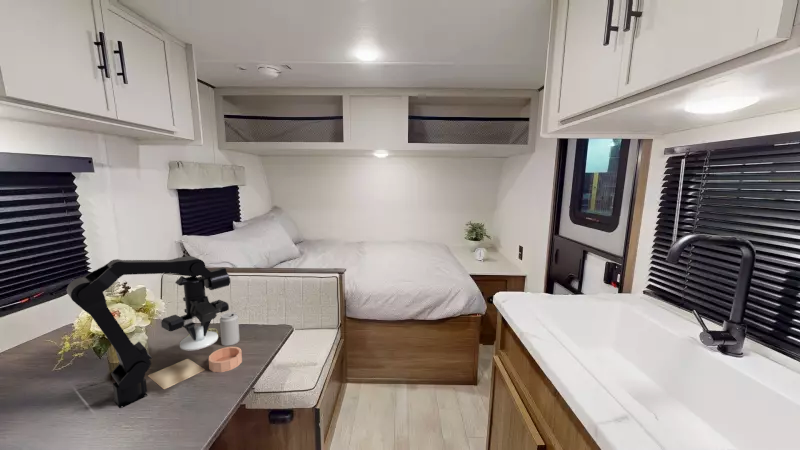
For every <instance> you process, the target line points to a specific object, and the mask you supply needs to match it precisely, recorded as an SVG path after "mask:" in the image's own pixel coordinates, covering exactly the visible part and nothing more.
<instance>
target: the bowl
mask: <svg viewBox="0 0 800 450" xmlns="http://www.w3.org/2000/svg"><path fill="white" fill-rule="evenodd" d="M242 352H243V351H242V349H241V348H240V347H238V346H225V347H222V348H219V349H217V350H214V351H213V352H212V353H211V354H210V355H209V356H208V369H209V371H211V372H213V373H224V372H228V371H232V370H234V369H235V368H238V367H239V366H240V364H242V363H243V356H242Z"/></svg>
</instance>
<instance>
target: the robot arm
mask: <svg viewBox="0 0 800 450" xmlns="http://www.w3.org/2000/svg"><path fill="white" fill-rule="evenodd" d="M157 274H158V275H159V274H160V275H162V274H173V275H174V274H175V275H180V277H179V278H178V279H177V280H176V281H175V284H176V285H178V286H179V287H180V286H183V292H184V297H182V298H183V299H182V300H183V301H184V303H185V308H184V309H183V311H184V313H186V314H184V315H181V316H179V315H177V314H172V315H170V316H167V317H164V318H162V320H161V321H160V326H161V329H164V330H167V331H168V332H173V331H176V330H179V329H181V328H185V330H186V331H187V332H188V335H189V334H190V336H191V337H192V339H193V340H196V334H195V328H194V327H195V326H196V323H195V322H194V321H193V319H198V320H199V322H200V325H202V326H203V331H204V336H206V333H207V330H208V328H210V327H209V326H210V324H211V321H212V320H214V319H216V318H217V314H219V313H221V314H222V313H224V312H225V313H226V312H227V311H229V310H230V306H229V303H228V302H227V301H225V300H221V299H217V300H214V301H212V302H210V300H209V297H208V295H206V289H208V290H210V291H214V290H217V289H222V288H225V287H228V286H229V285H230V284H231V278H230V276H229V273H228V272H227V268H225V267H223V266H221V267H219V268H216V269H211V270H209V269H208V268H207V267H206V263H205V262H204V261H203V260H202V259H201V258H200V259H199V257H196V256H193V255H187V256H186V255H185V256H180V257H176V258H175V257H174V258H172V259H119V258H117V259H112V260H110V261H109V262H108V263H106V264H104V265H102V266H100V267H98V268H97V269H94V271H91V272H90V273H87V274H86V275H85V276H84V277H80V278H76V279H73V280H72V281H71V282H70V283H69V284H68V285H67V287H66V293H67V295H68V296H69V297H70V299H71V300H72V302H74V303H75V304H76V305H77V306H79V307H80V308H81V309H82V310H83V311H84V312H85V313H87V314H88V315H90V316H91V318H92V319H93V320H94V322H95V324H96V325H97V326H98V328H99V329H100V330H101V332H102V333H103V334H104V336H105V337H106V339H107V340H108V341H109V343H110V344H111V346H112V347H113V349H115V354H116V357H117V360H118V362H119V363H118V364H117V365H116V366H115V368H113V370H112V371H111V373H110V375H111V376H112V378H113V380H114V381H115V382H113V383H112V391H113V398H112V402H114V404H115V405H116V406H117V407H118V408H119V409H123V408H125V407H127V406H129V405H131V404H133V403H136V402H138V401H140V400H142V399H143V398H146V397H148V396H149V395H148V393H147V392H148V387H147V386H148V385H147V379H146V378H145V375H146V373H147V371H148V370H149V369H150V368H151V366H152V362H151V359H153V357H152V356H151V354H150V353H149V352H148V351H147V348H146V347H145V346H144V344H142V343H141V341H137V342H136V343H133V342H132V341H131V339H130V338H129V337H128V335H127V334H126V332H125V331H124V329H123V328H122V327H121V325H120V323H119V322H118V321H117V320H116V318H115V316H114V314H113V313H112V312H111V311H110V309H109V307H108V304H107V300H106V297H105V294H104V292H105V291H107V290H108V289H109V288H110V287H111V286H113V284H115V282H116V281H118V279H120V278H121V277H123V276H125V275H126V276H127V275H128V276H129V275H157ZM185 276H186V277H185Z"/></svg>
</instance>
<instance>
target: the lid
mask: <svg viewBox="0 0 800 450" xmlns="http://www.w3.org/2000/svg"><path fill="white" fill-rule="evenodd" d="M194 328H195V334H196V340H193V339H192V337H191V336H188V335H187V336H188V337H187V336H186V337H184V338H183V339H181V341H180V342H179V349H180V350H182V351H189V352H190V351H191V352H192V351H198V350H202V349H205V348H208V347H210V346H212V345H213V344H215V343H216V342H217V341H218V340H219V333H218V334H217V333H216V332H212V331H207V333H206V336H204V331H203V326H202V325H201V324H200V325H195V326H194Z"/></svg>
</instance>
